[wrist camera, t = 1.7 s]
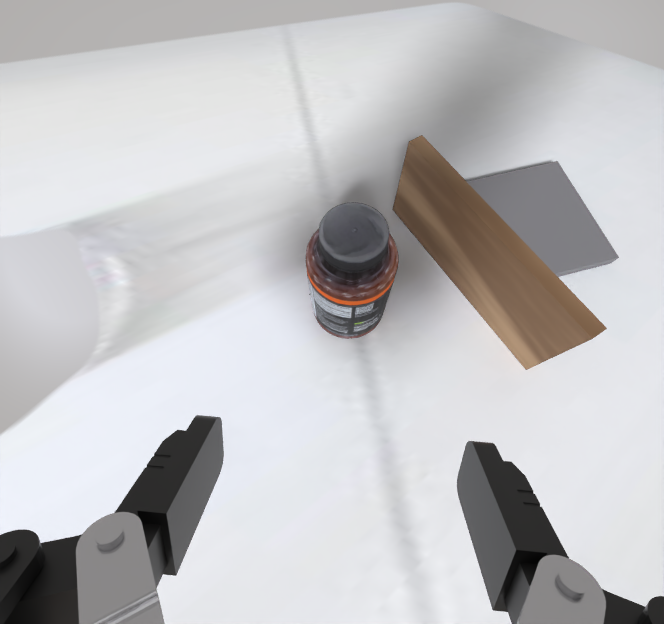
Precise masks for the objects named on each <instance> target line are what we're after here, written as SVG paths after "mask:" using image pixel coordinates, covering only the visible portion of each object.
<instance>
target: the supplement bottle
mask: <svg viewBox="0 0 664 624" xmlns="http://www.w3.org/2000/svg"><path fill="white" fill-rule="evenodd" d="M306 267H307V276H308V282H309V288H310V294H311V301H312V307H313V311H314V314H315V317H316V319H317V321H318V323H319V324H320V326H321V327H322V328H323V329H325V330H326V331H327V332H329V333H330V334H332V335H334V336H337V337H340V338H346V339H348V338H357V337H361V336H363V335H365V334H367V333H369V332H370V331H372V330H373V329H374V328H375V327H376V326H377V324H378V323H379V321H380V320H381V318H382V315H383V312H384V309H385V306H386V303H387V299H388V296H389V293H390V290H391V287H392V284H393V281H394V278H395V274H396V271H397V267H398V251H397V247H396V244H395V242H394V240H393V238H392V236H391V235H390V233H389V227H388V224H387V222H386V220H385V218H384V217H383V216H382V214H381V213H379V211H377V210H376V209H374V208H373V207H371V206H369V205H366V204H362V203H356V202H352V203H344V204H341V205H338V206H336V207H334V208H332V209H331V210H330V211H329V212H328V213H327V214H326V215H325V216H324V217H323V219H322V221H321V223H320V227H319V229H318V230H317V231H316V232H315V233H314V234H313V236H312V237H311V239H310V241H309V243H308V246H307V250H306ZM310 294H309V295H310Z"/></svg>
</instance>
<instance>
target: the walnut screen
mask: <svg viewBox="0 0 664 624" xmlns="http://www.w3.org/2000/svg"><path fill="white" fill-rule="evenodd" d="M393 211H394V212H395V213H396V214H397V215H398V217H399V218H400V219H401V220H402V221H403V223H404V224H405V225H406V226H407V227H408V229H409V230H410V231H411V232H412V233H413V235H414V236H415V237H416V238H417V239H418V241H419V242H420V243H421V244H422V245H423V247H424V248H425V249H426V250H427V251H428V253H429V254H430V255H431V256H432V257H433V259H434V260H435V261H436V262H437V263H438V265H439V266H440V267H441V268H442V269H443V271H444V272H445V273H446V274H447V275H448V277H449V278H450V279H451V280H452V281H453V283H454V284H455V285H456V286H457V287H458V289H459V290H460V291H461V292H462V293H463V295H464V296H465V297H466V298H467V299H468V301H469V302H470V303H471V304H472V305H473V307H474V308H475V309H476V310H477V311H478V313H479V314H480V315H481V316H482V317H483V319H484V320H485V321H486V322H487V323H488V325H489V326H490V327H491V328H492V329H493V331H494V332H495V333H496V334H497V335H498V337H499V338H500V339H501V340H502V341H503V343H504V344H505V345H506V346H507V347H508V349H509V350H510V351H511V352H512V353H513V355H514V356H515V357H516V358H517V359H518V361H519V362H520V363H521V364H522V365H523V367H524V368H525V369H526V370H527V369H529V368H531V367H533V366H536V365H538V364H540V363H542V362H544V361H546V360H548V359H550V358H553V357H555V356H557V355H559V354H561V353H563V352H565V351H567V350H570V349H572V348H574V347H576V346H578V345H580V344H582V343H585V342H587V341H589V340H591V339H593V338H594V337H596V336H597V335H598V334H600V333H601V332H603V331H604V330H605V329H607V328H606V327H605V326H604V325H603V324H602V323H601V322H600V321H599V320H598V319H597V318H596V317H595V316H594V314H593V313H592V312H591V311H590V310H589V309H588V308H587V307H586V306H585V305H584V304H583V303H582V302H581V301H580V300H579V299H578V298H577V297H576V296H575V295H574V294H573V293H572V291H571V290H570V289H569V288H568V287H567V286H566V285H565V284H564V283H563V282H562V281H561V280H560V279H559V278H558V277H557V276H556V275H555V274H554V273H553V272H552V271H551V270H550V268H549V267H548V266H547V265H546V264H545V263H544V262H543V261H542V260H541V259H540V258H539V257H538V256H537V255H536V254H535V253H534V252H533V251H532V250H531V249H530V248H529V247H528V245H527V244H526V243H525V242H524V241H523V240H522V239H521V238H520V237H519V236H518V235H517V234H516V233H515V232H514V231H513V230H512V229H511V228H510V227H509V226H508V225H507V224H506V222H505V221H504V220H503V219H502V218H501V217H500V216H499V215H498V214H497V213H496V212H495V211H494V210H493V209H492V208H491V207H490V206H489V205H488V204H487V203H486V202H485V200H484V199H483V198H482V197H481V196H480V195H479V194H478V193H477V192H476V191H475V190H474V189H473V188H472V187H471V186H470V185H469V184H468V183H467V182H466V181H465V180H464V179H463V177H462V176H461V175H460V174H459V173H458V172H457V171H456V170H455V169H454V168H453V167H452V166H451V165H450V164H449V163H448V162H447V161H446V160H445V159H444V158H443V157H442V156H441V154H440V153H439V152H438V151H437V150H436V149H435V148H434V147H433V146H432V145H431V144H430V143H429V142H428V141H427V140H426V139H425V138H424V137H423V136H422V135H421V136H419V137H417V138H415V139H413V140H411V141H409V144H408V148H407V152H406V156H405V160H404V165H403V169H402V173H401V177H400V181H399V185H398V190H397V194H396V198H395V202H394V206H393Z"/></svg>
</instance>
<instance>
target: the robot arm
mask: <svg viewBox="0 0 664 624" xmlns="http://www.w3.org/2000/svg"><path fill="white" fill-rule="evenodd" d="M223 456H224V451H223V435H222V421H221V418H220V417H211V416H200V415H197V416H196V417H195V418H194V419H193V421H192V422H191V424H190V426H189V427H188V429H187V430H186V431H183V430H177V431H175V432H174V433H173V434H172V435H170V436H169V437H168V438H166V439H165V440H164V441H163V442H162V444H161V445H160V447H159V448H158V449H157V451H156V452H155V454H154V457H152V458H151V460H150V461H149V463H148V464H147V467H146V468H145V469H144V470H143V472H142V473H141V475H140V476H139V478H138V479H137V481H136V482H135V484H134V485H133V486H132V488H131V489H130V491H129V492H128V494H127V495H126V497H125V498H124V500H123V501H122V503H121V504H120V506H119V507H118V509H117V510H116V511H115V513H113V514H110V515H107V516H105V517H103V518H101V519H99V520H97V521H96V522H95V523H93V524H92V525H91V526H90V527H89V528H87V530H86V531H85V532H84V533H83V534H82V535H78V536H74V537H70V538H65V539H59V540H54V541H49V542H44V543H40V540H39V538H38V536H37V534H36V533H34V532H33V531H30V530H15V531H11V532H7V533H4V534H2V535H0V624H164V619H163V615H162V610H161V606H160V601H159V597H158V594H157V590H156V588H157V586H158V583H159V581H160V579H161V577H162V575H163V574H166V575H175V576H176V575H177V572H178V570H179V568H180V565H181V563H182V561H183V558H184V556H185V554H186V551H187V549H188V547H189V544H190V542H191V540H192V537H193V535H194V533H195V530H196V528H197V526H198V523H199V521H200V519H201V516H202V514H203V512H204V509H205V507H206V505H207V502H208V500H209V498H210V495H211V493H212V491H213V488H214V486H215V484H216V481H217V479H218V477H219V474H220V471H221V468H222V464H223ZM457 490H458V496H459V500H460V503H461V507H462V510H463V513H464V517H465V520H466V523H467V526H468V530H469V533H470V536H471V540H472V543H473V546H474V550H475V553H476V556H477V559H478V563H479V566H480V569H481V573H482V576H483V579H484V583H485V586H486V589H487V593H488V596H489V599H490V602H491V606H492V609H493V610H495V611H505V612H508V613H509V616H510V619H511V622H512V624H664V597H663V596H659V597H654V598H652V599H651V600H650V601H649V603H648V604H647V606H646V607H644V606H642V605H639V604H637V603H634V602H632V601H629V600H627V599H624V598H622V597H619V596H617V595H614V594H612V593H610V592H607V591H605V590H603V589H602V588H601V587H600V585H599V584H598V582H597V581H596V580H595V578H594V577H593V576H592V575H591V574H590V573H589V572H588V571H587V570H586V569H585V568H583V567H582V566H581V565H579V564H578V563H576V562H574V561H573V560H571V559H569V557H568V556H567V554H566V552H565V550H564V548H563V546H562V544H561V543H560V541H559V539H558V537H557V535H556V533H555V531H554V529H553V527H552V526H551V524H550V522H549V520H548V518H547V516H546V514H545V512H544V510H543V509H542V507H540V503H539V501H538V499H537V497H536V495H535V494H533V490H532V488H531V486H530V484H529V482H528V480H527V478H526V477H525V475H524V474H523V473H522V472H521V471H520V470H519V469H518V468H517V467H516V466H515V465H514V464H513V463H512V462H507V461H503V460H502V458H501V456H500V454H499V452H498V450H497V448H496V446H495V445H494V444H493V443H486V442H475V441H468V442H467V444H466V447H465V451H464V455H463V458H462V462H461V466H460V470H459V473H458V478H457Z"/></svg>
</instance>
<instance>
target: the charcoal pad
mask: <svg viewBox="0 0 664 624" xmlns="http://www.w3.org/2000/svg"><path fill="white" fill-rule="evenodd" d="M466 182H467V183H468V184H469V185H470V186H471V187H472V188H473V189H474V190H475V191H476V192H477V193H478V194H479V195H480V196H481V197H482V198H483V199H484V200H485V202H486V203H487V204H488V205H489V206H490V207H491V208H492V209H493V210H494V211H495V212H496V213H497V214H498V215H499V216H500V217H501V218H502V219H503V220H504V221H505V222H506V224H507V225H508V226H509V227H510V228H511V229H512V230H513V231H514V232H515V233H516V234H517V235H518V236H519V237H520V238H521V239H522V240H523V241H524V242H525V243H526V244H527V245H528V247H529V248H530V249H531V250H532V251H533V252H534V253H535V254H536V255H537V256H538V257H539V258H540V259H541V260H542V261H543V262H544V263H545V264H546V265H547V266H548V267H549V268H550V270H551V271H552V272H553V273H554V274H555V275H556V276H557V277H559V276H563V275H567V274H571V273H575V272H578V271H582V270H586V269H590V268H594V267H598V266H602V265H606V264H610V263H612V262H613V261H615V260H616V259H617V258H619V257H618V255H617V254H616V252H615V251H614V249H613V248H612V246H611V244H610V243H609V241H608V240H607V238H606V237H605V235H604V233H603V232H602V230H601V229H600V227H599V226H598V224H597V222H596V221H595V219H594V218H593V216H592V215H591V213H590V212H589V210H588V208H587V207H586V205H585V204H584V202H583V201H582V199H581V197H580V196H579V194H578V193H577V191H576V190H575V188H574V186H573V185H572V183H571V182H570V180H569V179H568V177H567V176H566V174H565V172H564V171H563V169H562V168H561V166H560V165H559V163H558V161H556V162H551V163H547V164H542V165H538V166H533V167H529V168H524V169H520V170H515V171H511V172H506V173H502V174H497V175H493V176H488V177H484V178H479V179H475V180H470V181H466Z"/></svg>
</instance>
